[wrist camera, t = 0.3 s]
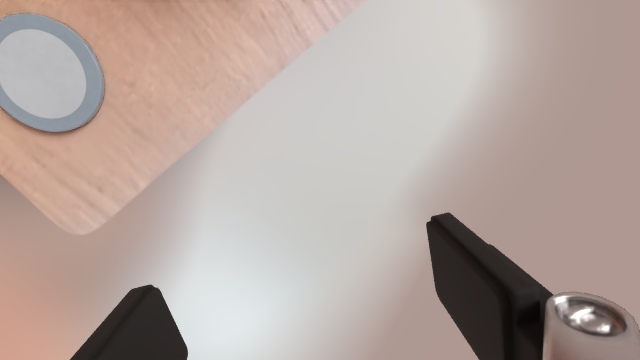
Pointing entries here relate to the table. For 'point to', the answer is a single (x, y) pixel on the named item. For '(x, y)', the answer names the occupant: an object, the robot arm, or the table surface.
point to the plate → (48, 74)
